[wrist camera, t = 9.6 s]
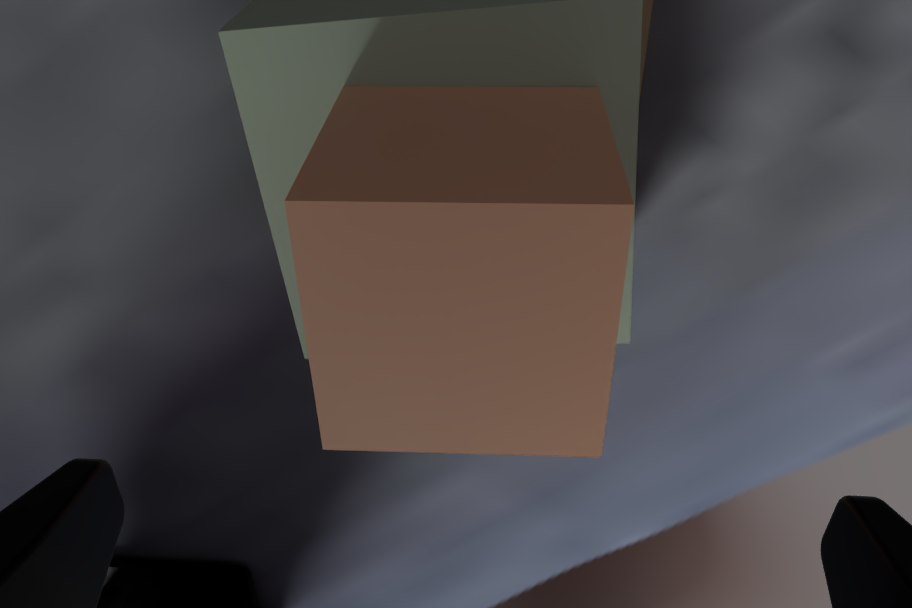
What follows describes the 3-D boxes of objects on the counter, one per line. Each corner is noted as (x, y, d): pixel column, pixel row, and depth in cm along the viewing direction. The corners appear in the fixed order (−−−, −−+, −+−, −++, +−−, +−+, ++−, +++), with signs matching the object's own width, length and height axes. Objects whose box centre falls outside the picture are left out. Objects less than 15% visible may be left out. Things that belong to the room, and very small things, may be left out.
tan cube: (363, 295, 18) (322, 449, 14) (343, 85, 15) (283, 200, 11) (578, 299, 18) (601, 457, 14) (598, 86, 15) (634, 204, 11)
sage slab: (323, 302, 21) (304, 358, 19) (252, 0, 17) (218, 31, 15) (616, 286, 21) (629, 343, 18) (624, -35, 16) (643, -7, 14)
